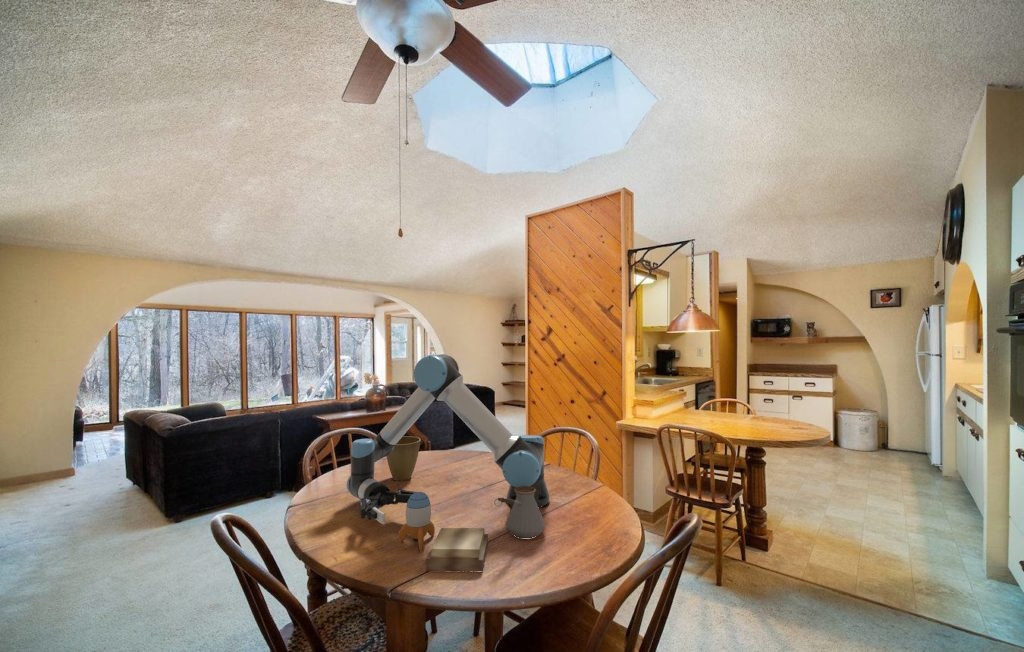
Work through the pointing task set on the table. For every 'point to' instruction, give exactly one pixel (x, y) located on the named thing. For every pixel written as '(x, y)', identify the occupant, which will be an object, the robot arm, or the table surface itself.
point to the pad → (458, 561)
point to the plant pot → (404, 457)
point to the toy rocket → (417, 519)
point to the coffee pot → (524, 514)
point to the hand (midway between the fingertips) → (406, 512)
